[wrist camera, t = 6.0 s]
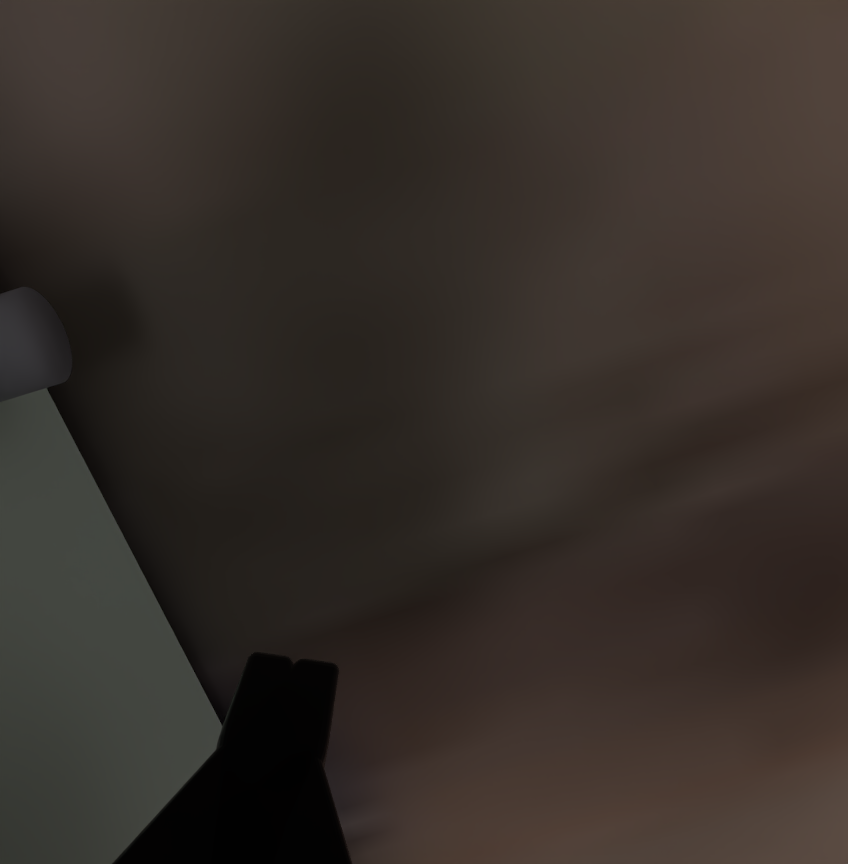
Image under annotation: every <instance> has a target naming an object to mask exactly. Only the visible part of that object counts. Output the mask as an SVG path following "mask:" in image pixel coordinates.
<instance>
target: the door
mask: <svg viewBox="0 0 848 864" xmlns="http://www.w3.org/2000/svg"><path fill="white" fill-rule="evenodd" d="M71 370H72V353H71V347H70V343H69V340H68V337H67V334H66V331H65V329H64V326H63V324H62V322H61V320H60V318H59V317H58V315H57V313H56V312H55V310H54V309H53V307H52V306H51V305H50V303H49V302H48V301H47V300H46V299H45V298H44V297H43V296H42V295H41V294H40V293H39V292H37V291H36V290H34V289H32V288H29V287H20V288H17V289H14V290H11V291H7V292H4V293H1V294H0V864H112V863H113V862H114V861H115V860H116V859H117V858H118V856H119V855H120V854H121V853H122V852H123V851H124V850H125V849H126V848H127V847H128V845H129V844H130V843H131V842H132V841H133V840H134V839H135V838H136V837H137V836H138V835H139V833H140V832H141V831H142V830H143V829H144V828H145V827H146V826H147V825H148V824H149V822H150V821H151V820H152V819H153V818H154V817H155V816H156V815H157V814H158V813H159V811H160V810H161V809H162V808H163V807H164V806H165V805H166V804H167V803H168V802H169V801H170V799H171V798H172V797H173V796H174V795H175V794H176V793H177V792H178V791H179V790H180V788H181V787H182V786H183V785H184V784H185V783H186V782H187V781H188V780H189V779H190V777H191V776H192V775H193V774H194V773H195V772H196V771H197V770H198V769H199V768H200V767H201V765H202V764H203V763H204V762H205V761H206V760H207V759H208V758H209V757H210V756H211V754H212V753H213V752H214V751H215V750H216V747H217V742H218V739H219V735H220V732H221V729H222V724H221V722H220V721H219V719H218V717H217V715H216V713H215V711H214V709H213V707H212V705H211V703H210V701H209V699H208V697H207V696H206V694H205V692H204V690H203V688H202V686H201V684H200V682H199V680H198V678H197V676H196V674H195V672H194V671H193V669H192V667H191V665H190V663H189V661H188V659H187V657H186V655H185V653H184V651H183V649H182V648H181V646H180V644H179V642H178V640H177V638H176V636H175V634H174V632H173V630H172V628H171V626H170V624H169V623H168V621H167V619H166V617H165V615H164V613H163V611H162V609H161V607H160V605H159V603H158V601H157V599H156V598H155V596H154V594H153V592H152V590H151V588H150V586H149V584H148V582H147V580H146V578H145V576H144V574H143V573H142V571H141V569H140V567H139V565H138V563H137V561H136V559H135V557H134V555H133V553H132V551H131V550H130V548H129V546H128V544H127V542H126V540H125V538H124V536H123V534H122V532H121V530H120V528H119V526H118V525H117V523H116V521H115V519H114V517H113V515H112V513H111V511H110V509H109V507H108V505H107V503H106V501H105V500H104V498H103V496H102V494H101V492H100V490H99V488H98V486H97V484H96V482H95V480H94V478H93V476H92V475H91V473H90V471H89V469H88V467H87V465H86V463H85V461H84V459H83V457H82V455H81V453H80V452H79V450H78V448H77V446H76V444H75V442H74V440H73V438H72V436H71V434H70V432H69V430H68V428H67V427H66V425H65V423H64V421H63V419H62V417H61V415H60V413H59V411H58V409H57V407H56V405H55V403H54V402H53V400H52V398H51V396H50V394H49V392H48V390H47V388H48V387H51V386H55V385H58V384H61V383H64V382H65V381H67V380H68V378H69V376H70V374H71Z"/></svg>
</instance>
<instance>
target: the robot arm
mask: <svg viewBox="0 0 848 864" xmlns="http://www.w3.org/2000/svg"><path fill="white" fill-rule="evenodd" d="M338 674H339V668H338V666H337V665H336V664H335V663H331V662H324V661H317V660H310V659H300V660H298V661H297V662H296V663H295V664H294V665H293V662H292V661H291V659H290V658H289V657H287V656H282V655H275V654H268V653H261V652H254V653H252V654H251V655H250V656H249V657H248V659H247V662H246V665H245V667H244V670H243V673H242V675H241V678H240V681H239V683H238V686H237V689H236V691H235V694H234V697H233V699H232V702H231V705H230V707H229V710H228V713H227V715H226V718H225V721H224V723H223V726H222V729H221V732H220V735H219V739H218V742H217V747H216V750H215V751H214V752H213V753H212V754H211V756H210V757H209V758H208V759H207V760H206V761H205V762H204V763H203V764H202V765H201V767H200V768H199V769H198V770H197V771H196V772H195V773H194V774H193V775H192V776H191V777H190V779H189V780H188V781H187V782H186V783H185V784H184V785H183V786H182V787H181V788H180V790H179V791H178V792H177V793H176V794H175V795H174V796H173V797H172V798H171V799H170V801H169V802H168V803H167V804H166V805H165V806H164V807H163V808H162V809H161V810H160V811H159V813H158V814H157V815H156V816H155V817H154V818H153V819H152V820H151V821H150V822H149V824H148V825H147V826H146V827H145V828H144V829H143V830H142V831H141V832H140V833H139V835H138V836H137V837H136V838H135V839H134V840H133V841H132V842H131V843H130V844H129V845H128V847H127V848H126V849H125V850H124V851H123V852H122V853H121V854H120V855H119V856H118V858H117V859H116V860H115V861H114V862H113V863H112V864H352V862H351V858H350V855H349V851H348V848H347V845H346V841H345V838H344V834H343V831H342V828H341V824H340V821H339V818H338V814H337V811H336V807H335V804H334V801H333V797H332V794H331V790H330V787H329V784H328V780H327V777H326V773H325V770H324V767H325V761H326V755H327V749H328V743H329V737H330V730H331V723H332V716H333V709H334V702H335V695H336V688H337V681H338Z"/></svg>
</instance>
